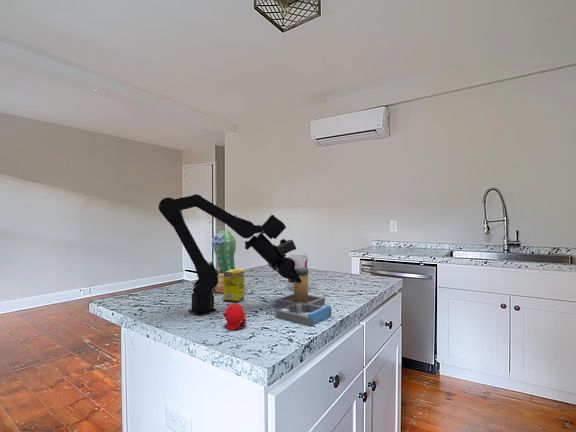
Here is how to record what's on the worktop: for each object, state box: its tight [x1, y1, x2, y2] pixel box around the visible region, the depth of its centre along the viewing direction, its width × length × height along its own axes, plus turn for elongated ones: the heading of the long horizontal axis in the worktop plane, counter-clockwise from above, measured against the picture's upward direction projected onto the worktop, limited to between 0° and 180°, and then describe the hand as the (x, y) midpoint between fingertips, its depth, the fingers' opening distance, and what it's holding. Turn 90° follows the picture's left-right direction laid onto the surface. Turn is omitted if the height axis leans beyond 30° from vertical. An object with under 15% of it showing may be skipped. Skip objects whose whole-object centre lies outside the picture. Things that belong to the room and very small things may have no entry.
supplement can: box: [287, 252, 308, 291], centre depth 136 cm, size 8×8×15 cm
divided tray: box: [275, 293, 332, 327], centre depth 104 cm, size 22×20×3 cm
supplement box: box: [223, 269, 245, 304], centre depth 116 cm, size 6×6×11 cm
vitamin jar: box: [293, 267, 309, 303], centre depth 111 cm, size 5×5×13 cm
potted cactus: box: [211, 230, 243, 294], centre depth 132 cm, size 15×15×25 cm
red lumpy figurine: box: [223, 302, 247, 332], centre depth 89 cm, size 8×6×6 cm
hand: (296, 279), depth 110 cm, fingers open, 9 cm apart
